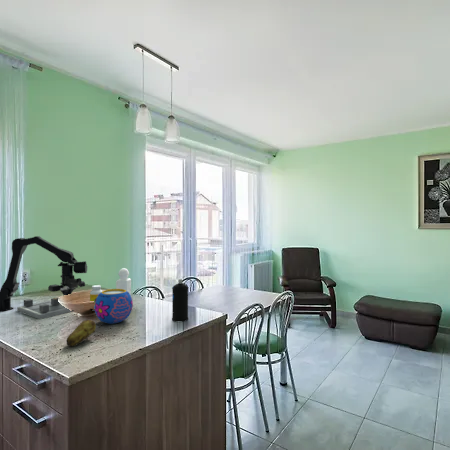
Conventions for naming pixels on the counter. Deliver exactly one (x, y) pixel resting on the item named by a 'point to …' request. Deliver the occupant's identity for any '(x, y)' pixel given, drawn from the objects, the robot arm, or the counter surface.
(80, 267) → the robot arm
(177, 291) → the aerosol can
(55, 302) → the handle
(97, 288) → the supplement bottle
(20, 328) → the counter surface
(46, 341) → the counter surface
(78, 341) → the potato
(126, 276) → the white figurine
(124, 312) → the ceramic pot
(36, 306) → the panel
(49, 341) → the counter surface
